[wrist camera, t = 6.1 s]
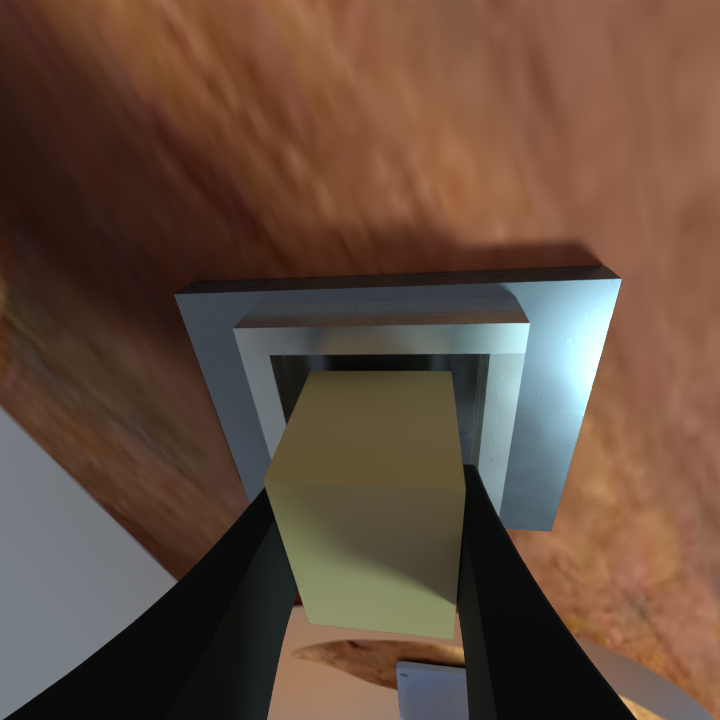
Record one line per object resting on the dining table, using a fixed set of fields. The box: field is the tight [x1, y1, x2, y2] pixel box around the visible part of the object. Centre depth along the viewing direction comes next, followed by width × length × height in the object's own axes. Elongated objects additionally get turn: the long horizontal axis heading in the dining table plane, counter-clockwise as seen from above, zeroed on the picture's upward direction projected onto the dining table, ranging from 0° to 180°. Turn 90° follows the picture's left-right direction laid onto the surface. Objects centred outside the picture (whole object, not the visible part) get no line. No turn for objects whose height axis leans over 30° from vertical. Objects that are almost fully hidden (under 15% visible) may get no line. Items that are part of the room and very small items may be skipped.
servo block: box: [263, 371, 466, 639], centre depth 11 cm, size 6×4×4 cm, turn 5°
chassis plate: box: [174, 266, 622, 532], centre depth 13 cm, size 10×12×2 cm
